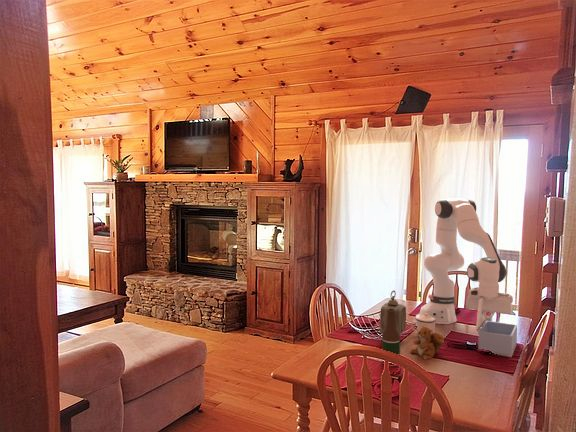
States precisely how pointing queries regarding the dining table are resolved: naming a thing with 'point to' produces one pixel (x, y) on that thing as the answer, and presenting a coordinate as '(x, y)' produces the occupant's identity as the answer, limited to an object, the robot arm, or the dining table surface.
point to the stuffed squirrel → (427, 343)
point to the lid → (480, 315)
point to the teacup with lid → (424, 323)
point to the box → (498, 338)
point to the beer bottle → (391, 335)
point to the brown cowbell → (399, 315)
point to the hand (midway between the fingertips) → (488, 320)
